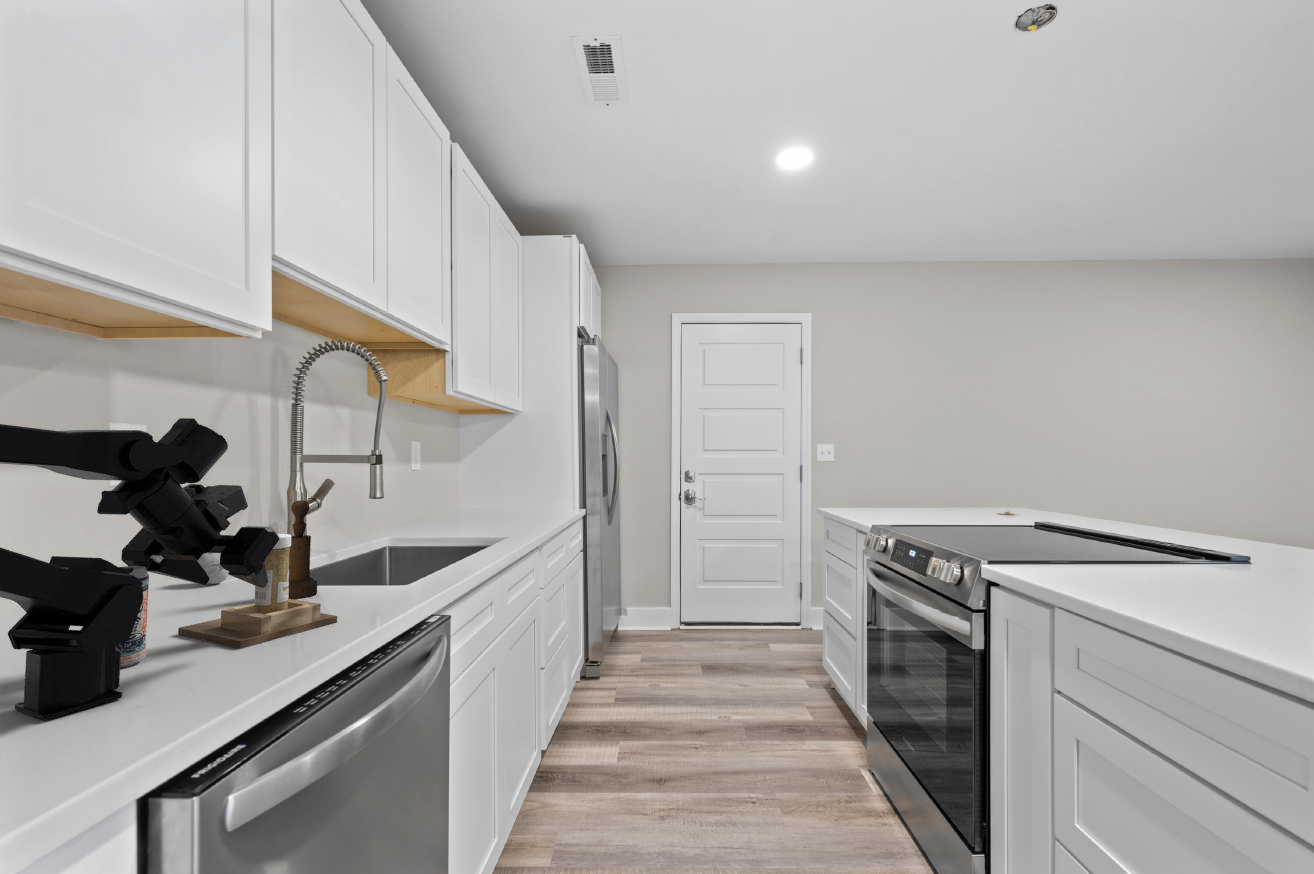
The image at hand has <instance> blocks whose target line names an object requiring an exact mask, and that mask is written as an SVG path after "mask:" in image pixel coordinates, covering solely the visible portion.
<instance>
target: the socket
mask: <svg viewBox="0 0 1314 874" xmlns="http://www.w3.org/2000/svg"><path fill="white" fill-rule="evenodd" d="M220 611H221V612H220V618H216V619H211V620H208V621H203V622H199V623H195V624H190V625H185V626H180V627H177V628H178V631H177V635H178V636H181V637H182V636H183V637H187V638H192V639H197V640H201V641H206V642H211V643H213V644H218V645H224V646H227V647H232V648H235V649H236V648H237V649H243V648H247V647H252V646H254V645H255V646H256V645H258V644H262V643H265V642H270V641H272V640H273V641H274V640H276V639H280V638H283V637H287V636H291V635H295V634H298V633H302V632H306V631H309V630H313V629H318V628H320V627H325V626H328V625H333V624H336V623H338V615H333V614H327V613H322V612H321V603H318V602H317V603H316V602H311V601H305V600H299V599H288V609H286V610H281V611H277V612H273V613H268V614H261V613H255V602H254V603H250V604H249V603H248V604H245V605H240V606H235V607H230V608H225V609H221V610H220Z"/></svg>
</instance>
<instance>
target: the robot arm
mask: <svg viewBox="0 0 1314 874" xmlns="http://www.w3.org/2000/svg"><path fill="white" fill-rule="evenodd" d="M228 449H229V444H228V442H227V440H226V438H225V437H224V436H223V434H222V435H221V434H219V433H218V432H217V431H214V429H212V428H210V427H207V426H205V425H202V424H199V423H198V421H197V419H195V418H193V417H192V418H191V417H190V418H184V417H180V418H178V419H177V420H176V421H175V422H174V423H173V425H172V426H171V428H170V429H169V430H168V431H167V432H166V433H165V434H164V435H163V436H162V437H161V438H160V439H159V440H158V441H155V440H154V437H153V435H152V434H150V433H148V432H147V431H144V430H138V429H134V430H133V429H78V430H77V429H72V430H54V429H53V430H52V429H45V428H44V429H43V428H35V427H28V426H21V425H11V424H3V423H0V465H1V464H3V465H15V466H17V465H18V466H30V467H31V466H32V467H37V468H41V469H46V470H49V471H51V472H54V473H56V474H60V475H63V476H64V475H65V476H68V477H73V478H77V479H82V480H85V481H86V480H87V481H119V483H118V484H117V485H116V486H115V487H114V488H113V489H112V490H102V491H101V499H100V501H99V503H98V504H97V509H96V512H97V514H98V515H114V516H115V515H119V516H120V515H121V516H123V515H124V516H126V515H128V514H129V515H130V516H131V517H132V518H133V519H134V520H135V521H136V522H137V523H139V524H140V526H141V529H140V530H139V531H138V532H137V533H136V534H135V535H134V537H132V539H131V540H129V542H127V544H126V545H125V546H124V547H123V548H122V549H121V557H120V558H121V559H120V560H121V561H122V562H123V563H124V564H125V565H126V566H143V567H145V569H146V571H147V572H148V573H151V574H156V575H160V576H161V575H162V576H166V577H169V578H174V579H178V580H182V581H186V582H190V583H194V584H197V585H202V586H206V585H208V584H207V583H208V581H209V580H210V578H209V576H208V575H207V573H206V572H205V570H204V569H203V568H202V566H201V565H200V564H199V563H198V561H197V560H199V558H200V557H201V556H202V555H203V554H205V553H221V554H220V565H221V566H222V567H223V568H224V569H225V570H227V571H230V572H229V573H228V574H229V575H228V576H231V577H233V578H235V579H238V580H241V581H242V582H246V583H247V584H249V585H250V584H251V585H253V586H254V587H255V586H258V587H261V588H265V586H266V585H267V583H268V577H267V572H266V567H265V559H266V558H267V556H268V555H269V554H270V552H271V551H272V549H273V548H274V547H275V545H276V544H277V542H278V541H279V539H280V538H279V536H278V534H279V533H277V532H276V531H275V529H274V528H273V527H272V526H257V525H256V526H255V525H253V526H252V525H251V526H249V525H247V526H246V525H245V526H241V527H240V528H239V529H238V531H237V532H236V533H235V534H234V535H230V534H229V535H228V534H221V532H222V531H223V532H224V531H226V530H227V529H228V528H229V526H230V525H231V522H230V521H229V520H228V519H230V518H232V517H233V516H235V515H236V514H238V513H239V512H240V511H245V510H246V509H248V507H249V505H248V502H247V498H246V495H245V492H244V489H243V486H241V485H238V484H237V485H235V484H234V485H233V484H232V485H230V484H217V485H216V484H215V485H213V486H212V485H206V486H205V485H203V484H201V483H200V482H201V480H202V479H203V478H204V477H205V476H206V475H207V474H208V472H209V471H211V469H212V468H214V466H215V464H217V462H218V461H219V460H220V459H221V458H222V457H223V455H224V454H226V452H227V451H228ZM198 483H199V484H198ZM185 484H187V485H186V486H183V487H182V485H185ZM120 567H121V566H117V565H116V564H115V563H112V562H110V561H109V560H106V559H104V558H101V557H87V556H86V557H84V556H60V555H58V556H56V555H51V557H50V559H49V562H47V561H44V560H40V559H38V558H35V557H32V556H28V555H25V554H22V553H19V552H16V551H13V550H9V549H6V548H4V547H1V546H0V598H3V599H6V600H10V601H13V602H15V603H16V604H18V606H19V607H20V608H22V610H24V611H25V614H24V615H22V617H20V619H19V620H18V621H17V622H16V623H15V624H14V625H13V626H12V627H11V628H10V629H9V630H8V631H7V636H8V639H9V641H10V643H11V646H12V649H14V650H26V653H25V668H24V669H25V670H24V671H25V672H24V690H23V691H24V692H23V701H21V702H18V703H15V705H14V709H15V710H16V711H19V712H22V713H25V714H27V715H30V716H31V717H32V716H33V717H34V718H38V719H41V720H50V719H51V720H52V719H54V718H57V717H61V716H64V715H67V714H71V713H74V712H77V711H82V710H85V709H87V708H91V707H95V706H98V705H102V704H105V703H108V702H112V701H115V700H119V699H122V698H123V691H122V692H121V691H118V690H117V689H118V688H119V687H120V682H121V679H120V678H121V668H120V662H121V652H120V651H118V650H116V644H119V643H122V642H126V641H128V640H129V638H130V636H131V633H132V630H133V627H134V625H135V622H136V619H137V616H138V614H139V611H140V608H141V605H142V602H143V589H142V585H143V583H142V581H141V580H140V579H139V578H137V577H135V576H134V575H130V573H131V572H132V571H133V570H134V569H133V568H120ZM71 627H81V628H80V629H70V628H71Z"/></svg>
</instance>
